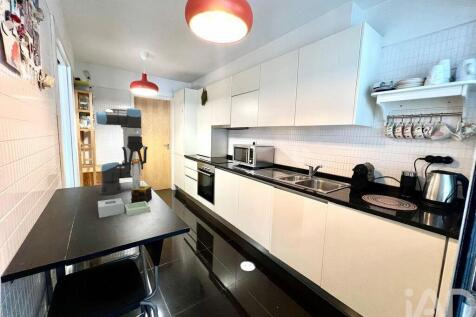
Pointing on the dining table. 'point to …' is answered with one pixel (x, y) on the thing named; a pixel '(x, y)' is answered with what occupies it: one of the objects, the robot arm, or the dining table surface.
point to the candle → (141, 194)
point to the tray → (136, 208)
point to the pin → (136, 173)
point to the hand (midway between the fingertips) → (136, 175)
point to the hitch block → (110, 207)
